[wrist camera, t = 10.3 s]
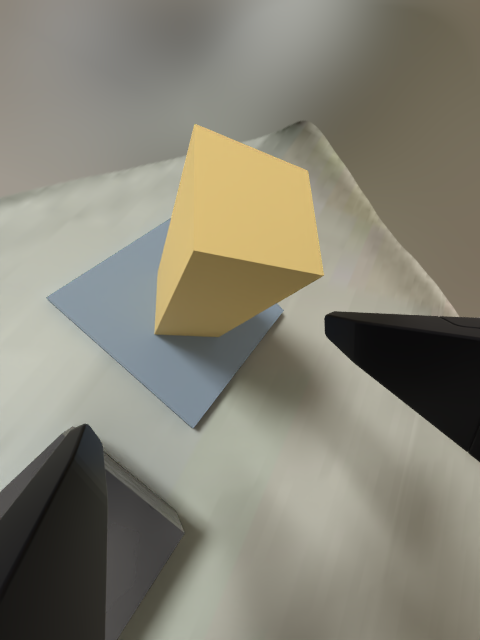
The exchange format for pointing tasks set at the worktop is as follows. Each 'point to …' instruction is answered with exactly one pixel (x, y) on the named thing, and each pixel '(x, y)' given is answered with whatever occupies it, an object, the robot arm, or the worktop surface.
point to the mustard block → (234, 238)
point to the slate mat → (139, 326)
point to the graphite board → (121, 536)
